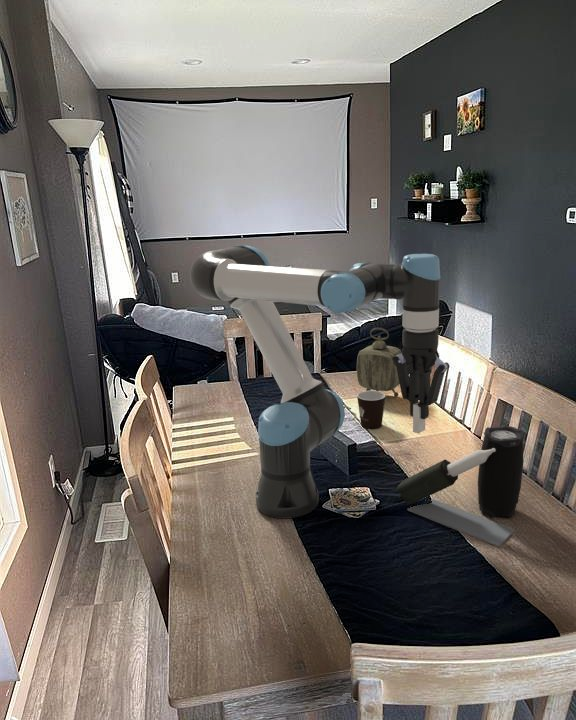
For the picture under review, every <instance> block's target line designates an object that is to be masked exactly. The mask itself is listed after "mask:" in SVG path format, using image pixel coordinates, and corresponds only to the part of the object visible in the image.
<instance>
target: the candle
mask: <svg viewBox="0 0 576 720" xmlns="http://www.w3.org/2000/svg"><path fill="white" fill-rule="evenodd" d="M495 451H496V449H495V448H492V449H490V450H481V449H477V450H474V451H473V452H471V453H469V454H467V455H465V456H463V457H461V458H459V459H457V460H454V461H453V462H451V461H448V460H447V459H443V460H441V461H439V462H437V463H435V464H433V465H431V466H429V467H427V468H425V469H423V470H422V471H419V472H417V473H415V474H413V475H412V476H410V477H407V478H405V479H404V480H402V481H401V482H400V483H399V484H398V485H397V487H396V490H397V492H398V494H400V496H401V498H402V499H403V500H404V502H405V504H406V503H410V504H411V505H413V504H415V503H416V502H418V501H419V500H422V499H424V498H426V497H429V496H432V495H434V494H437V493H438V492H441V491H443V490H445V489H447V488H448V487H451V486H453V485H455V483H456V481H457V480H458V478H459V475H461V474H463V473H465V472H467V471H469V470H472V469H473V468H474V469H475V468H476V467H479V465H480V464H482V463H484V462H486V460H487V458H488V457H489V456H490V455H491V454H492V453H493V452H495Z"/></svg>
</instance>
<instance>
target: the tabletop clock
mask: <svg viewBox="0 0 576 720" xmlns="http://www.w3.org/2000/svg"><path fill="white" fill-rule="evenodd" d="M373 331H383V332H385V334H387V336H386V337H381V335H377V337H375V336H373V335H372V333H373ZM369 335H370V337H371V338H372V339H374V340H375V341H374V342H373V343H372V344H371V345H367V346H366V347H365V348H363V349H361V350H359V351H358V354H357V359H356V377H357V381H358V382H357V383H358V385H359V386H361V388H365V391H379V392H381V391H382V392H390V391H392V393H393V396H394V397H398V396H399V392H396V391H395V388H396V387H398V386H400V383H399V378H398V373H397V368H396V366H395V364H394V362H393V360H392V358H393V357H394V356H396V355H399V354H401V353H402V349H399V347H396V346H391V345H387V343H386V342H385V341H384V340H387V339H389V336H390V334H389V331H388V330H387V329H385V328H383V327H373V328H372V329H371V330H370V332H369Z"/></svg>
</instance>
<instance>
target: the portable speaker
mask: <svg viewBox="0 0 576 720" xmlns="http://www.w3.org/2000/svg"><path fill="white" fill-rule="evenodd" d="M483 435H484V437H483V440H482V444H481V449H480V450H490V449H492V448H495V449H496V451H495V452H493V453H492V454H491V455H490V456H489V457H488V458H487V460H486V462H484V463H482V464H480V465H478V476H477V498H478V499H477V500H478V501H477V502H478V507H479V508H478V509H479V511H480V512H481V514H482V515H484V516H486V517H488V518H491V519H493V518H495V517H500V516H501V517H507V518H508V519H509V518H510V519H511V518H514V515H515V513H516V509H517V504H518V503H519V498H520V492H521V487H522V486H521V485H522V479H523V478H522V477H523V467H524V438H523V435H522V432H521V430H520V429H518V428H516V427H514V426H509V425H503V426H502V425H501V426H492V427H486V428H485V430H484V432H483Z"/></svg>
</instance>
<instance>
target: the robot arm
mask: <svg viewBox="0 0 576 720" xmlns="http://www.w3.org/2000/svg"><path fill="white" fill-rule="evenodd" d="M440 264H441V263H440V258H439V256H437V255H436V254H432V253H412V254H407V255H404V256H403V259H402V263H382V262H378V263H377V262H371V261H369V262H358V263H357V262H356V263H355V264H353V265H352V266H351V268H350V269H349V270H333V269H332V270H329V269H321V268H320V269H317V268H306V267H305V268H304V267H289V266H273V265H270V262H269V261H268V258H267V257H266V255H265V254H264V253H263V252H262V251H261V250H260V249H258V248H256V247H254V246H251V245H235V246H232V247H227V248H222V249H214V250H210V251H209V250H208V251H206V252H203V253H202V254H200V255H198V256H197V257H196V258H195V259H194V261H193V262H192V264H191V267H190V270H189V281H190V284H191V286H192V288H193V290H194V291H195V292H196V293H197V294H198V295H199V296H200V297H202V298H204V299H207V300H212V301H214V300H215V301H225V302H227V303H228V305H229V307H230V308H232V309H235V310H238V311H239V313H240V314H241V317H242V318H243V320H244V322H245V324H246V326H247V328H248V330H249V332H250V333H251V336H252V337H253V339H254V341H255V343H256V346H257V347H258V349H259V351H260V352H261V355H262V357H263V358H264V360H265V362H266V364H267V366H268V368H269V370H270V372H271V373H272V376H273V377H274V379H275V382H276V383H277V386H278V387H279V388H280V391H281V393H282V397H281V400H280V403H279V404H273V405H271V406H269V407H267V408H266V409H264V410H263V411H262V412H261V414H260V415H259V417H258V426H257V427H258V428H257V435H258V441H259V442H258V443H259V445H258V446H259V458H260V471H261V472H260V477H259V481H258V487H257V489H256V492H255V506H256V508H257V510H258V511H259V512H261V513H263V514H264V515H266V516H267V517H268V516H269V517H272V518H278V519H293V518H297V517H298V518H299V517H302V516H304V515H307V514H309V513H311V512H312V510H313V511H314V510H315V509H316V508H317V507H318V505H319V502H320V499H319V498H320V497H319V496H320V495H319V489H318V487H317V485H316V482H315V479H314V477H313V474H312V471H311V452H312V451H313V450H314V449H315V448H317V447H318V446H320V445H321V444H323V442H326V440H328V439H330V438H333V437H334V436H335V434H336V433H337V432H338V431H340V429H341V428H342V426H343V424H344V421H345V417H346V416H345V415H346V412H345V411H346V410H345V406H344V403H343V400H342V399H341V397H339V395H338V394H337V393H335V392H333V391H332V390H330V389H326V387H325V386H324V384H323V382H322V381H321V380H318V379H316V378H314V376H312V374H311V372H310V370H309V368H308V366H307V364H306V363H305V361H304V359H303V356H302V355H301V352H300V350H299V349H298V347H297V345H296V343H295V341H294V340H293V338H292V335H291V334H290V331H289V330H288V328H287V326H286V324H285V322H284V320H283V318H282V317H281V315H280V313H279V311H278V309H277V307H276V305H275V303H274V302H276V303H277V302H279V303H286V304H287V303H288V304H298V305H306V306H316V307H324V308H327V309H328V310H330V312H333V313H336V314H341V313H343V314H344V313H349V312H352V311H354V310H357V308H360V307H361V306H364V305H366V304H370V303H372V302H375V301H377V300H379V299H385V300H386V299H387V300H401V302H402V327H403V330H402V333H401V334H402V339H401V340H402V341H401V342H402V346H403V347H402V349H401V352H402V353H401V354H399V355H396V356H394V357H393V358H392V360H393V362H394V364H395V366H396V368H397V373H398V378H399V383H400V384H399V387H400V393H401V397H402V398H403V400H407V401H408V402H409V405H410V406H409V409H410V410H409V414H410V417H412V433H414V434H417V435H418V434H420V433H422V432H424V431H426V419H428V418H429V411H430V410H429V409H430V407H429V406H431V405H433V404H435V403H436V402H437V401H438V399H439V395H440V392H441V388H442V384H443V380H444V377H445V373H446V372H447V370H448V369H449V368H450V363H449V362H447V361H446V362H444V361H443V360H442V359H441V358H440V354H439V352H438V351H439V350H438V346H439V337H440V336H439V333H440V332H439V331H440V330H439V329H438V327H440V326H439V323H440V322H439V320H440V291H441V290H440V289H441V288H440V285H441V278H442V276H441V269H440V268H441V267H440ZM433 366H434V370H435V371H434V372H433V371H432V370H433ZM432 372H433V375H432V380H431V374H432Z"/></svg>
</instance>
